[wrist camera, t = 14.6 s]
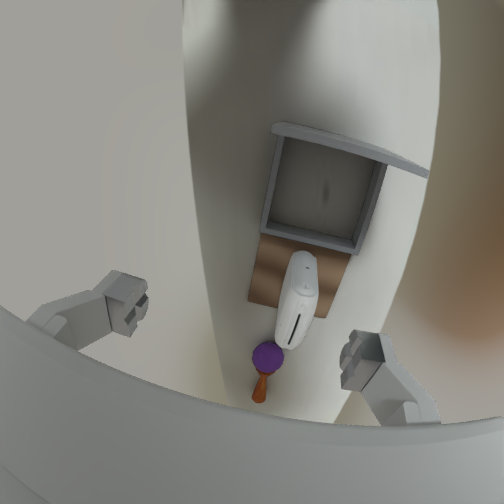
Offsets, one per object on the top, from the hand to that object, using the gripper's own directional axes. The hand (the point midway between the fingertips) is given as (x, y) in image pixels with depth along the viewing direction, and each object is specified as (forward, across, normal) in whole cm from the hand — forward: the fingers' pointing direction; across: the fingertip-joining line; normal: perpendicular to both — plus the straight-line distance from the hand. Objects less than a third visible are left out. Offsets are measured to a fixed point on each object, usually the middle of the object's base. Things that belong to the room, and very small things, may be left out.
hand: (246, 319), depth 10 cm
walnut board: (+31, -6, +17) cm, 36 cm away
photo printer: (+31, -6, +16) cm, 35 cm away
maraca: (+32, -5, +41) cm, 52 cm away
